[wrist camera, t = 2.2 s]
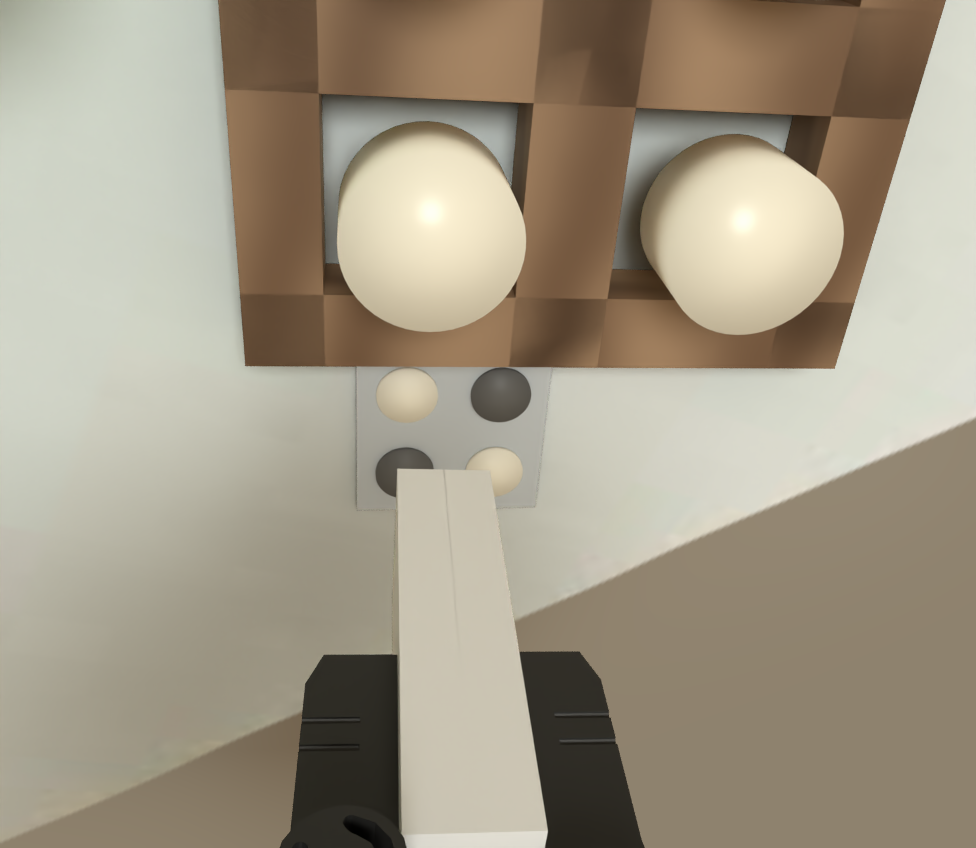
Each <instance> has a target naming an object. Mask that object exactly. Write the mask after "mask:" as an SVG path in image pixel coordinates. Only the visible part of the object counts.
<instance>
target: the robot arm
mask: <svg viewBox="0 0 976 848" xmlns="http://www.w3.org/2000/svg"><path fill="white" fill-rule="evenodd" d="M280 848H644V845H643V842H642V840H641V836H640V832H639V828H638V824H637V820H636V816H635V812H634V808H633V804H632V801H631V797H630V793H629V789H628V785H627V781H626V777H625V773H624V769H623V765H622V761H621V757H620V753H619V750H618V745H617V744H616V742H615V734H614V730H613V726H612V722H611V718H609V710H608V706H607V703H606V698H605V694H604V690H603V686H602V683H601V679H600V678H599V677H598V675H597V674H596V673H595V671H594V670H593V669H592V667H591V666H590V665H589V664H588V662H587V661H586V660H585V658H584V657H583V656H582V655H581V653H580V652H519V648H518V642H517V635H516V629H515V623H514V617H513V611H512V604H511V598H510V592H509V586H508V579H507V573H506V567H505V561H504V555H503V548H502V542H501V536H500V530H499V523H498V517H497V511H496V505H495V499H494V492H493V486H492V480H491V474H490V470H442V469H397V490H396V515H395V540H394V565H393V590H392V655H323V657H322V659H321V660H320V662H319V663H318V665H317V667H316V668H315V670H314V671H313V673H312V674H311V676H310V678H309V679H308V681H307V682H306V684H305V693H304V703H303V712H302V724H301V733H300V742H299V752H298V762H297V772H296V782H295V792H294V802H293V812H292V821H291V831H290V832H289V834H288V835H287V836H286V837H285V838H284V840H283V841H282V843H281V846H280Z"/></svg>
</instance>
